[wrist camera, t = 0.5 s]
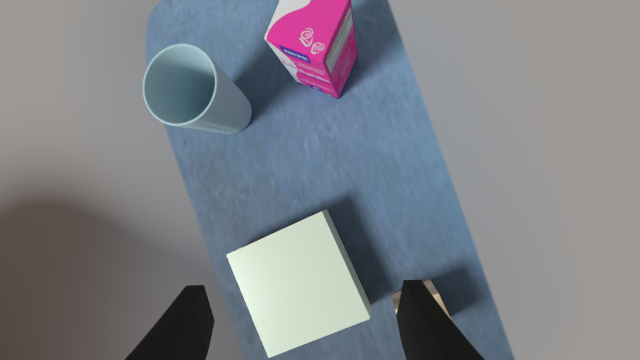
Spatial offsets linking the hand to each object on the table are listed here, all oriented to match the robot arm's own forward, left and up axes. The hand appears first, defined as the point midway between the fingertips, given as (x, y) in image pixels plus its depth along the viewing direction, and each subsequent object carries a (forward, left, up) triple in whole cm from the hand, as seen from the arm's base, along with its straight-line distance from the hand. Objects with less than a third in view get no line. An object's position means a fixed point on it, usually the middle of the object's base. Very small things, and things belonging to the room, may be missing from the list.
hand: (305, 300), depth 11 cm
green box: (-3, +8, -24) cm, 26 cm away
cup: (+19, +8, -24) cm, 32 cm away
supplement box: (+18, -5, -24) cm, 30 cm away
